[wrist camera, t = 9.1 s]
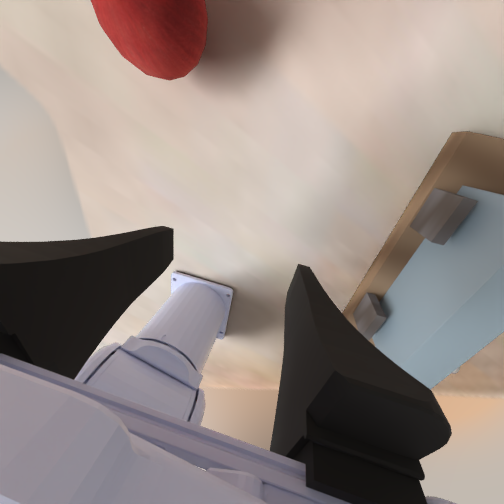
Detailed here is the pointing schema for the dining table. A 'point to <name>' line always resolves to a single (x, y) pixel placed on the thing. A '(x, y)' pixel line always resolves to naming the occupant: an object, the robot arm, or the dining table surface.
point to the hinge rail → (429, 218)
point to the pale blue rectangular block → (448, 296)
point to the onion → (156, 33)
